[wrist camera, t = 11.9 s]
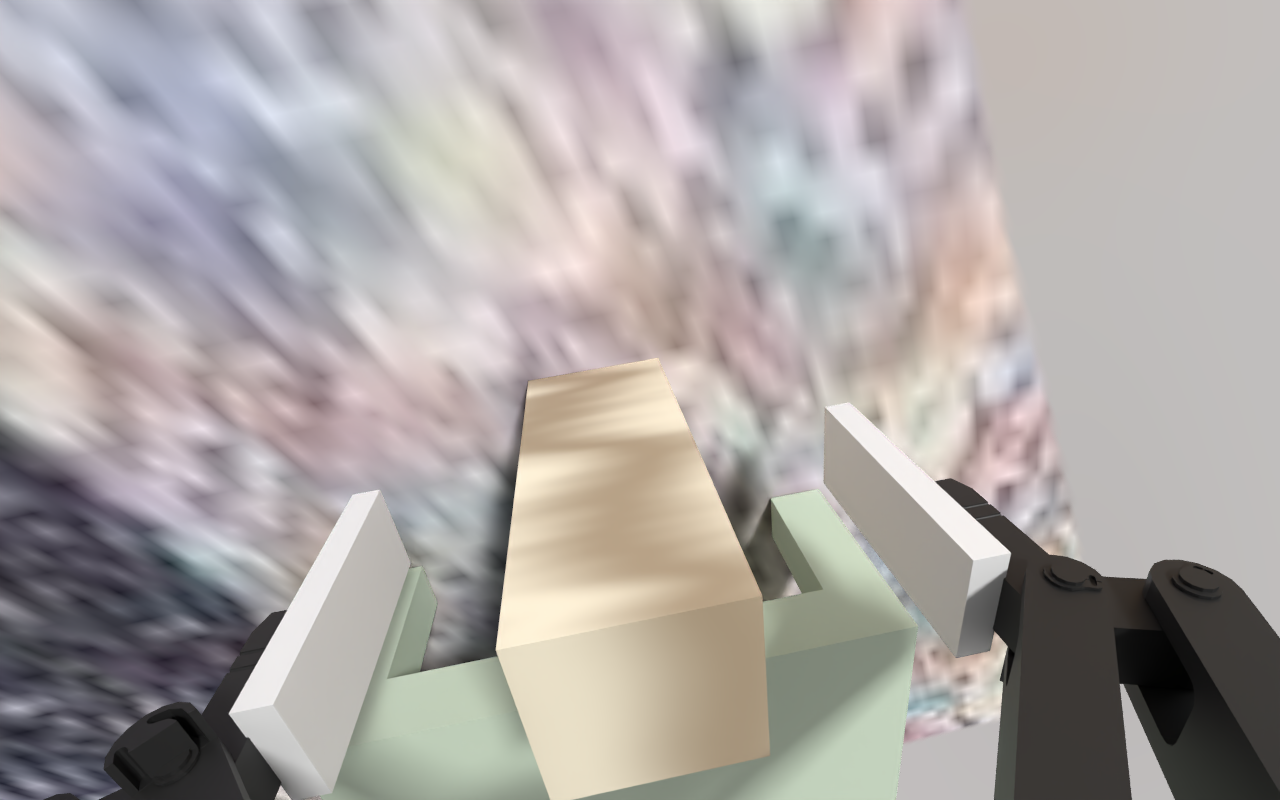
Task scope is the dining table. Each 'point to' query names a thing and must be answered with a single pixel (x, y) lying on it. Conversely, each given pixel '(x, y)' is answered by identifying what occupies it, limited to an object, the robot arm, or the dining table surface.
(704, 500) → the pusher
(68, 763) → the dining table surface
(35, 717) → the dining table surface
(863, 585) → the footstool
